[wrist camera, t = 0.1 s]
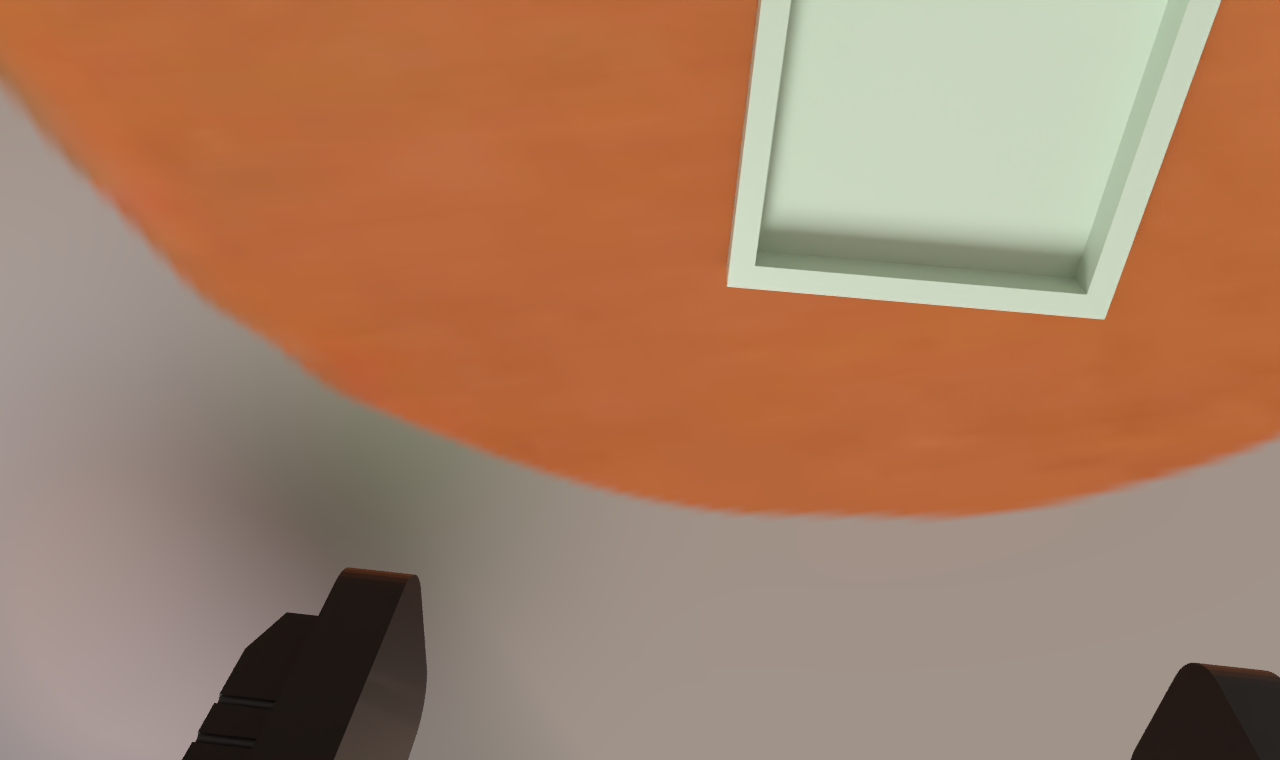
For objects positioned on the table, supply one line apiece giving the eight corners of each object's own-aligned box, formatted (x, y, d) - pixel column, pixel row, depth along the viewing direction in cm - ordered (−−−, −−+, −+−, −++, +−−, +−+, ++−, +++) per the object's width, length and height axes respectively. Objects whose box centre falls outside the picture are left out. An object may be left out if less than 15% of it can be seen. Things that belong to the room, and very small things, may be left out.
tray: (775, -143, 31) (778, -140, 30) (1228, -110, 31) (1259, -105, 29) (726, 264, 39) (726, 286, 38) (1087, 295, 39) (1104, 319, 37)
